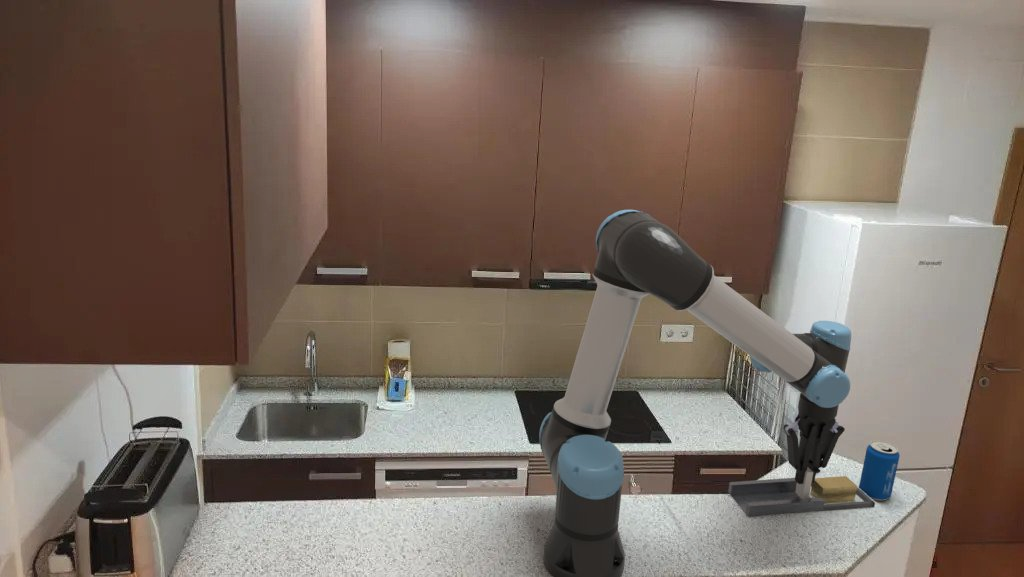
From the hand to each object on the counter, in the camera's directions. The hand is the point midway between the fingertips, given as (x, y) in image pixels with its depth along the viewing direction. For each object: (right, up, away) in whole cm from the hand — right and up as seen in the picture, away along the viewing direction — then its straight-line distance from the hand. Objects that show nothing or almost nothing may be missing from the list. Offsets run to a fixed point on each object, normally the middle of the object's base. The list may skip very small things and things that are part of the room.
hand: (801, 495), depth 153 cm
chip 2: (+9, -2, +2) cm, 10 cm away
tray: (+8, -2, +3) cm, 9 cm away
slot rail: (-6, -2, 0) cm, 7 cm away
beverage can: (+19, -2, +6) cm, 20 cm away
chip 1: (+5, -2, +2) cm, 6 cm away
